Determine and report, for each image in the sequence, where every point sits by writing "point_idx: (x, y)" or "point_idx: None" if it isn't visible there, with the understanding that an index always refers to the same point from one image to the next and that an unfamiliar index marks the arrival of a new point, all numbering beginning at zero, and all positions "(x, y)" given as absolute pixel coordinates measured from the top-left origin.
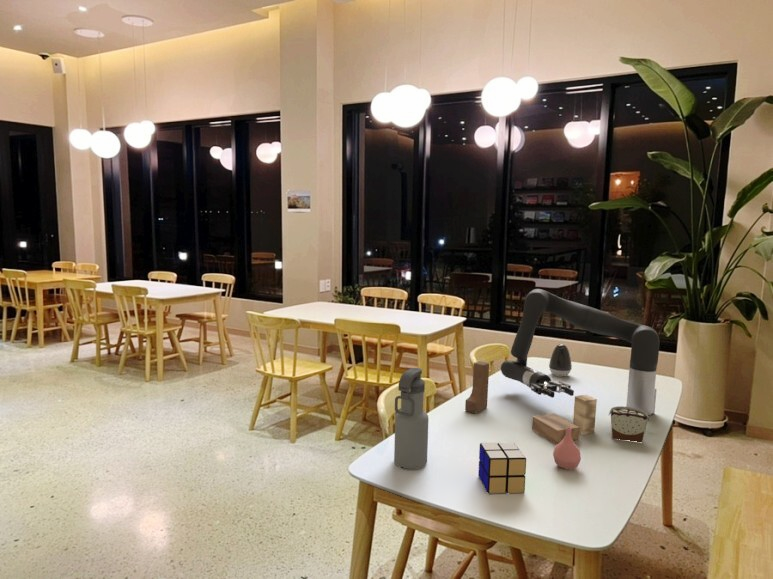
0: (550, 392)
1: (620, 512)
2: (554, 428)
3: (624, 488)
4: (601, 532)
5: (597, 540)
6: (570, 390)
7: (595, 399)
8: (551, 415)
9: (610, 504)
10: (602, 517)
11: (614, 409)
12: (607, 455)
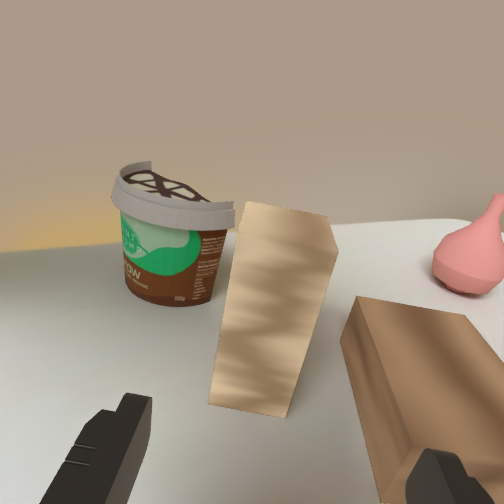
0: (475, 489)
1: (412, 222)
2: (472, 327)
3: (370, 231)
4: (456, 223)
5: (467, 222)
6: (141, 427)
7: (255, 202)
8: (443, 429)
9: (417, 230)
10: (443, 228)
11: (190, 207)
12: None
